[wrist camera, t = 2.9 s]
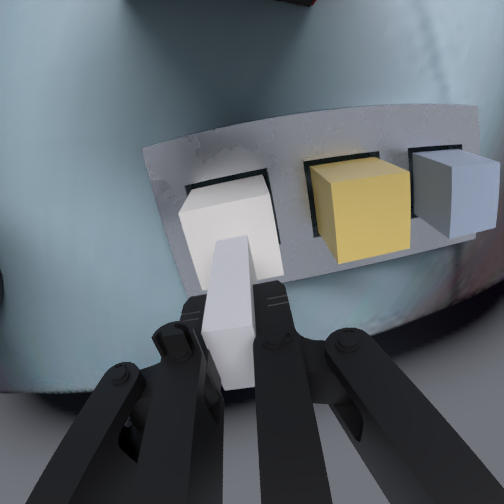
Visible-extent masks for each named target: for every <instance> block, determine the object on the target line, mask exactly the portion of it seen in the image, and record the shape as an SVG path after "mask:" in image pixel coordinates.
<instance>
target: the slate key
mask: <svg viewBox="0 0 504 504" xmlns="http://www.w3.org/2000/svg"><path fill="white" fill-rule="evenodd" d="M412 161H413V185H414V214H415V215H417V216H418V217H420V218H421V219H422V220H424V221H425V222H427V223H428V224H429V225H431V226H432V227H434V228H435V229H436V230H438V231H439V232H440V233H442V234H443V235H444V236H446V237H447V238H448V239H452V238H456V237H460V236H464V235H468V234H472V233H476V232H480V231H484V230H488V229H492V228H495V227H496V219H497V209H498V197H499V180H500V162H497V161H494V160H491V159H488V158H485V157H482V156H479V155H476V154H473V153H470V152H467V151H463V150H460V149H452V150H438V151H426V152H415V153H412Z"/></svg>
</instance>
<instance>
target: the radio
mask: <svg viewBox="0 0 504 504" xmlns="http://www.w3.org/2000/svg"><path fill="white" fill-rule="evenodd" d="M277 1H283V2H288V3H293V4H298V5H302V6H307V7H310V6H311V5H313V4H314V3H315V2H316V0H277Z"/></svg>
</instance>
